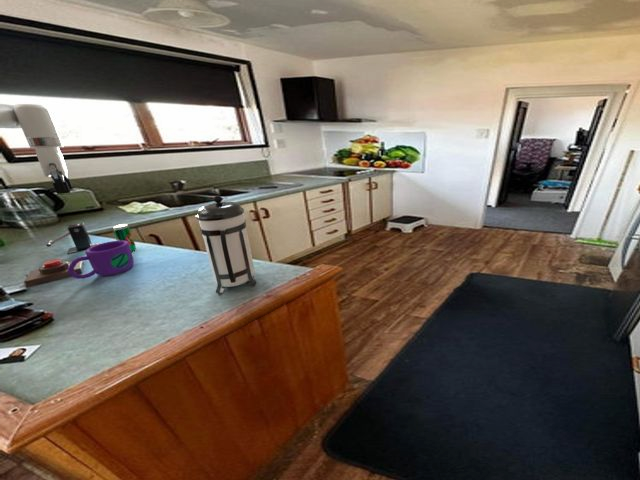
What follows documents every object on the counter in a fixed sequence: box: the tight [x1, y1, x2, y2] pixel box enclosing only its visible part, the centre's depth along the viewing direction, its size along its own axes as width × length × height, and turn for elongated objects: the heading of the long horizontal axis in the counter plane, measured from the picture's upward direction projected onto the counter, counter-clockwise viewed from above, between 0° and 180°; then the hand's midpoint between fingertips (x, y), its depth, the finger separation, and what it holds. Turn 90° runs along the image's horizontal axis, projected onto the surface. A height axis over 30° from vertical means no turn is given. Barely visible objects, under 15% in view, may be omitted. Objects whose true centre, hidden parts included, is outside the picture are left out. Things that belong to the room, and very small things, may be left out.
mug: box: [68, 240, 135, 280], centre depth 97 cm, size 17×11×10 cm, turn 160°
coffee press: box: [195, 195, 257, 295], centre depth 85 cm, size 17×16×30 cm
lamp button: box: [43, 258, 62, 268], centre depth 98 cm, size 4×4×2 cm
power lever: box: [46, 223, 79, 248], centre depth 116 cm, size 12×5×2 cm, turn 136°
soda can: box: [112, 223, 137, 253], centre depth 116 cm, size 5×5×12 cm
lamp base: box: [24, 260, 85, 288], centre depth 99 cm, size 13×11×4 cm
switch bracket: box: [67, 222, 102, 255], centre depth 119 cm, size 10×8×12 cm
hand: (65, 191), depth 99 cm, fingers open, 9 cm apart
